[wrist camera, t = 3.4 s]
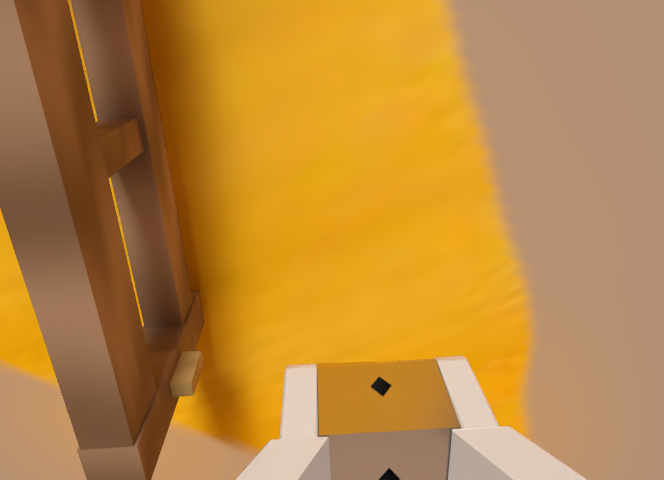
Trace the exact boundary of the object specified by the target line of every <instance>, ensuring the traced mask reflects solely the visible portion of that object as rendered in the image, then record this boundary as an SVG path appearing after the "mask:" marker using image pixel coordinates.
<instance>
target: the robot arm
mask: <svg viewBox="0 0 664 480" xmlns="http://www.w3.org/2000/svg"><path fill="white" fill-rule="evenodd" d="M235 480H587V479H585V478H584V477H582V476H581V475H579V474H578V473H576V472H575V471H574V470H572V469H571V468H569V467H568V466H566V465H565V464H563V463H562V462H560V461H559V460H557V459H556V458H555V457H553V456H551V455H550V454H549V453H547V452H546V451H544V450H543V449H541V448H540V447H539V446H537V445H536V444H534V443H533V442H531V441H530V440H528V439H527V438H525V437H524V436H522V435H521V434H520V433H518V432H517V431H515V430H514V429H512V428H511V427H509V426H504V427H499V425H498V423H497V421H496V418H495V416H494V414H493V412H492V410H491V408H490V406H489V404H488V402H487V400H486V398H485V396H484V394H483V392H482V389H481V387H480V385H479V383H478V381H477V379H476V377H475V375H474V373H473V371H472V369H471V367H470V365H469V363H468V360H467V359H466V358H465V357H464V356H450V357H437V358H433V359H421V360H404V361H387V362H353V363H321V364H317V365H316V364H302V365H287V367H286V369H285V376H284V389H283V403H282V416H281V429H280V439H277V440H270V441H269V442H268V443H267V444H266V445H265V446H264V448H263V449H262V450H261V451H260V452H259V453H258V454H257V455H256V457H255V458H254V459H253V460H252V461H251V462H250V463H249V464H248V466H247V467H246V468H245V469H244V470H243V471H242V472H241V474H240V475H239V476H238V477H237V478H236V479H235Z"/></svg>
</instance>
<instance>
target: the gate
mask: <svg viewBox="0 0 664 480" xmlns="http://www.w3.org/2000/svg"><path fill="white" fill-rule="evenodd" d="M71 3H72V8H73V12H74V16H75V21H76V25H77V30H78V34H79V39H80V43H81V47H82V52H83V56H84V61H85V65H86V70H87V74H88V78H89V83H90V87H91V92H92V96H93V100H94V105H95V109H96V114H97V118H98V121H97V122H95V118H94V114H93V110H92V105H91V101H90V96H89V92H88V88H87V83H86V79H85V75H84V70H83V66H82V61H81V57H80V53H79V48H78V44H77V40H76V35H75V31H74V26H73V22H72V18H71V13H70V9H69V5H68V0H0V208H1V211H2V214H3V217H4V220H5V223H6V226H7V229H8V232H9V235H10V238H11V241H12V244H13V247H14V250H15V254H16V257H17V260H18V263H19V266H20V269H21V272H22V275H23V278H24V281H25V284H26V287H27V290H28V293H29V296H30V299H31V302H32V305H33V308H34V311H35V314H36V317H37V320H38V323H39V326H40V329H41V332H42V335H43V338H44V341H45V344H46V347H47V350H48V353H49V356H50V359H51V362H52V365H53V368H54V371H55V374H56V377H57V380H58V383H59V387H60V390H61V393H62V396H63V399H64V401H65V405H66V407H67V411H68V414H69V417H70V419H71V423H72V425H73V429H74V432H75V435H76V438H77V441H78V444H79V448H78V450H77V451H78V454H79V457H80V460H81V463H82V466H83V469H84V472H85V475H86V478H87V480H151V478H152V475H153V472H154V469H155V466H156V463H157V460H158V457H159V454H160V451H161V449H162V446H163V443H164V440H165V437H166V434H167V431H168V428H169V425H170V422H171V419H172V416H173V413H174V410H175V407H176V404H177V401H178V398H179V396H193V395H194V392H195V389H196V385H197V382H198V379H199V376H200V372H201V369H202V366H203V357H202V351H195V348H196V345H197V342H198V339H199V337H200V334H201V331H202V328H203V325H204V317H203V311H202V305H201V299H200V293H199V291H191V289H190V283H189V278H188V272H187V266H186V260H185V255H184V249H183V243H182V237H181V232H180V226H179V220H178V214H177V209H176V203H175V197H174V191H173V186H172V180H171V174H170V168H169V163H168V157H167V151H166V145H165V140H164V134H163V128H162V122H161V117H160V111H159V105H158V99H157V94H156V88H155V82H154V76H153V71H152V65H151V59H150V53H149V48H148V42H147V36H146V30H145V25H144V19H143V13H142V7H141V2H140V0H71ZM110 177H111V180H112V184H113V189H114V193H115V198H116V202H117V207H118V211H119V215H120V220H121V224H122V229H123V233H124V238H125V242H126V246H127V251H128V255H129V260H130V264H131V268H132V273H133V277H134V282H135V286H136V291H137V295H138V299H139V304H140V308H141V313H142V317H143V322H144V327H143V328H142V324H141V319H140V315H139V311H138V306H137V302H136V298H135V293H134V289H133V284H132V280H131V276H130V271H129V267H128V263H127V258H126V254H125V249H124V245H123V241H122V236H121V232H120V228H119V223H118V219H117V215H116V210H115V206H114V201H113V197H112V193H111V188H110V184H109V180H108V178H110Z"/></svg>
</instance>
